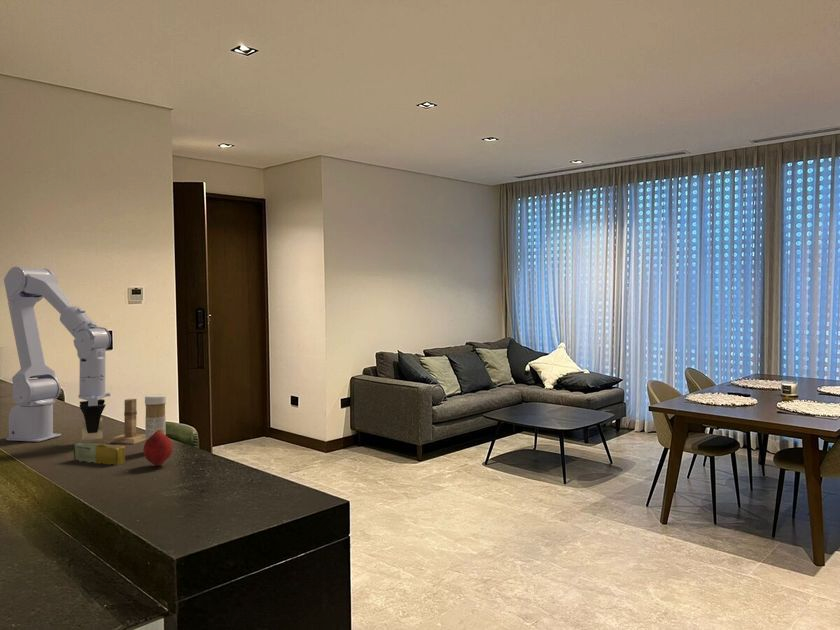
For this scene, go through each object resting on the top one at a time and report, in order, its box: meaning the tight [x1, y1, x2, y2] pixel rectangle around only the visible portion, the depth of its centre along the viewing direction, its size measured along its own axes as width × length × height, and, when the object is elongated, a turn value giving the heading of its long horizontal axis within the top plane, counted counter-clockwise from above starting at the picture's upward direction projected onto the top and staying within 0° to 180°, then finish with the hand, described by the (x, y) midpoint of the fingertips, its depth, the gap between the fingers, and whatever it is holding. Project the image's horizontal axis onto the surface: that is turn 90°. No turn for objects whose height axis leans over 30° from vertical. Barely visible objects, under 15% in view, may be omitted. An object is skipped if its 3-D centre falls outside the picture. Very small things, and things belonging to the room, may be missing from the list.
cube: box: [81, 416, 104, 441], centre depth 156 cm, size 4×4×4 cm
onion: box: [143, 429, 174, 467], centre depth 135 cm, size 6×6×8 cm
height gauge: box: [111, 398, 146, 445], centre depth 160 cm, size 6×6×11 cm
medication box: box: [73, 441, 126, 466], centre depth 139 cm, size 12×3×4 cm, turn 73°
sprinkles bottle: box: [144, 393, 167, 442], centre depth 148 cm, size 5×5×14 cm
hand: (92, 430), depth 156 cm, fingers closed on cube, 4 cm apart
